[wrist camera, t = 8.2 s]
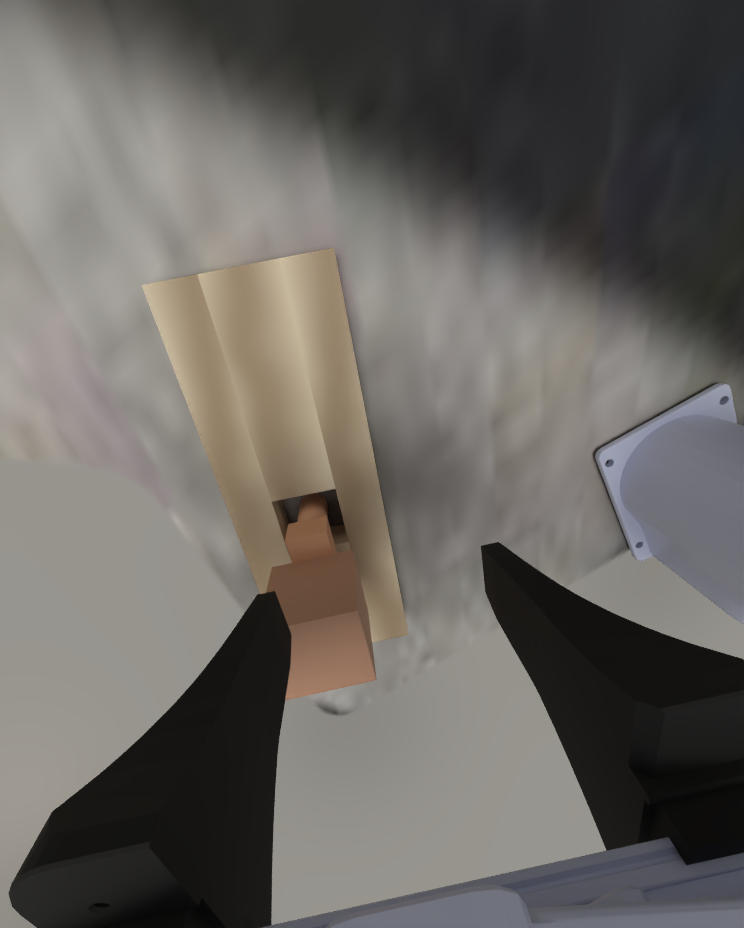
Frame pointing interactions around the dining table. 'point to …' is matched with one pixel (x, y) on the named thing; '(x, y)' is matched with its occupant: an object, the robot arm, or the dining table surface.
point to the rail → (281, 409)
